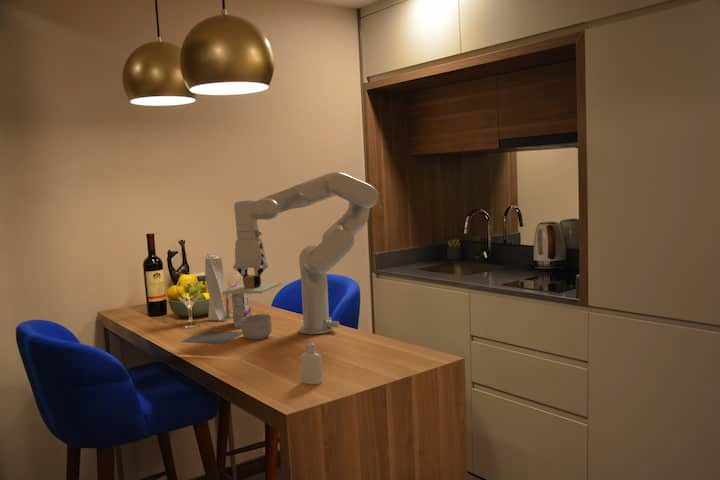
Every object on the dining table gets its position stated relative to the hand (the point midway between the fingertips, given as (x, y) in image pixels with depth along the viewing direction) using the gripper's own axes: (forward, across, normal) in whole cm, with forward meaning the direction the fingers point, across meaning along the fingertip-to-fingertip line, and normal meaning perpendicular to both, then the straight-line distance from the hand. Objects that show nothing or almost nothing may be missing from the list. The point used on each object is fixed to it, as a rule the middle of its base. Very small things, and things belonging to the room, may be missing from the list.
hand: (252, 286), depth 226 cm
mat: (+18, +15, +4) cm, 24 cm away
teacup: (+19, -1, 0) cm, 19 cm away
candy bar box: (+19, +14, -16) cm, 28 cm away
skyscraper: (+18, +30, -24) cm, 43 cm away
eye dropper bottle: (+19, -40, +44) cm, 62 cm away
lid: (+1, 0, 0) cm, 1 cm away
